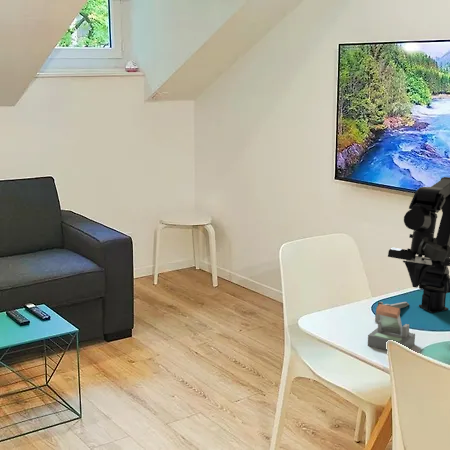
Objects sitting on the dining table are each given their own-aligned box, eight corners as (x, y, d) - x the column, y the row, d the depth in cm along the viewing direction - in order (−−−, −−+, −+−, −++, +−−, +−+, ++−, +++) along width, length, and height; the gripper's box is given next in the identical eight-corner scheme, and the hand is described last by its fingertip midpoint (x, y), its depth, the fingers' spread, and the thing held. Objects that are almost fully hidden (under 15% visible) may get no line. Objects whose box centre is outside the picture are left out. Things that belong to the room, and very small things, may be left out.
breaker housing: (379, 336, 199) (380, 315, 197) (414, 344, 193) (415, 323, 192) (367, 345, 192) (368, 324, 191) (403, 354, 187) (404, 332, 185)
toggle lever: (384, 325, 195) (379, 304, 189) (404, 329, 191) (399, 308, 186) (381, 331, 193) (376, 310, 188) (401, 336, 190) (396, 314, 185)
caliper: (378, 324, 208) (379, 303, 207) (374, 323, 209) (375, 303, 207) (409, 305, 223) (410, 286, 222) (405, 304, 224) (407, 285, 223)
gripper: (419, 230, 190) (409, 288, 190) (469, 239, 199) (460, 295, 199) (391, 227, 200) (382, 282, 200) (440, 235, 209) (431, 288, 209)
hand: (415, 287), depth 202 cm, fingers closed
